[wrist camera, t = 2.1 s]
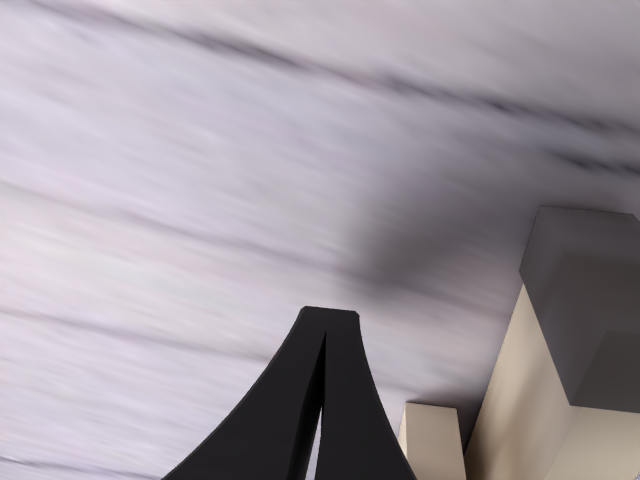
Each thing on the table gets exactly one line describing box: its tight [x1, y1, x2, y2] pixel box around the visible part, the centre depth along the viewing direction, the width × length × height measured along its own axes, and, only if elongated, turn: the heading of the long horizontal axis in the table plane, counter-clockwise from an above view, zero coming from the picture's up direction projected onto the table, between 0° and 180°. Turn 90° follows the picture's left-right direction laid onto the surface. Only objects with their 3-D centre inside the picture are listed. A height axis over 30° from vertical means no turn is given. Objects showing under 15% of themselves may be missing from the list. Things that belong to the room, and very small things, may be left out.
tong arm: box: [463, 206, 640, 480], centre depth 12 cm, size 12×2×4 cm, turn 178°
